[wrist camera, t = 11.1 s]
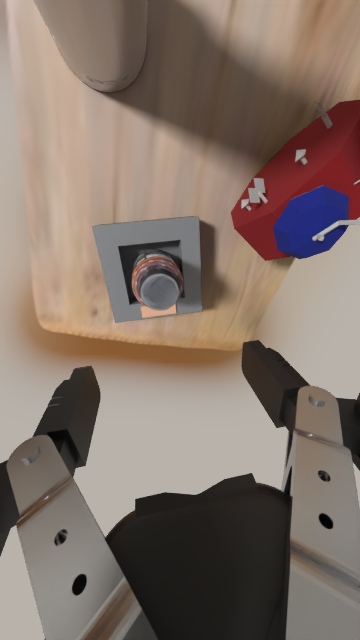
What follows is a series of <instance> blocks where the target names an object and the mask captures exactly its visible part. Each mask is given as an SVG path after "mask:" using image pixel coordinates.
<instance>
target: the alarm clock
mask: <svg viewBox="0 0 360 640" xmlns="http://www.w3.org/2000/svg"><path fill="white" fill-rule="evenodd" d="M315 103H316V102H315ZM316 106H317V109H318V111H319V112H320V113H321V115H322V116H321V117H319V118H318V119H317V120H315V121H314V122H313V123H311V124H310V125H309V126H307V127H306V128H305V129H303V130H302V131H301V132H299V133H298V134H297V135H295V136H294V137H293V138H291V139H290V140H289V141H288V142H287V143H286V144H285V145H284V146H283V147H282V149H281V150H280V151H279V152H278V153H277V154H276V155H275V156H274V157H273V158H272V159H271V160H270V161H269V162H268V163H267V164H266V165H265V166H264V167H263V169H262V170H261V171H260V172H259V173H258V174H257V175H256V176H255V177H254V178H253V179H252V180H251V182H250V183H249V185H248V186H247V188H246V190H245V191H244V193H243V194H242V196H241V197H240V199H239V201H238V202H237V204H236V205H235V207H234V209H233V210H232V212H231V215H232V219H233V224H234V228H235V229H236V231H237V232H238V233H239V234H240V235H241V236H242V237H243V238H244V239H245V240H246V241H247V242H248V243H249V244H250V245H251V246H252V247H253V248H254V249H255V250H256V251H257V253H258V254H259V255H260V256H261V257H262V258H263V259H264V260H265V261H266V260H272V259H278V258H284V257H290V256H293V257H296V258H298V259H302V258H307V257H310V256H313V255H316V254H319V253H322V252H325V251H328V250H329V249H330V248H331V247H332V246H333V245H334V244H335V243H336V241H337V240H338V239H339V238H340V237H341V236H342V235H343V234H344V232H345V231H346V229H347V227H348V225H356V224H357V225H360V220H356V219H357V218H359V217H360V100H354V101H345V102H339V103H338V104H336V105H335V106H334V107H332V108H331V109H330V110H329V111H327V112H325V111H324V110H323V108H322V107H321V106H320V104H319V106H320V108H319V106H318V105H317V103H316Z"/></svg>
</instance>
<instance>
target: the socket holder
mask: <svg viewBox="0 0 360 640" xmlns="http://www.w3.org/2000/svg"><path fill="white" fill-rule="evenodd" d="M92 228H93V232H94V236H95V241H96V245H97V249H98V253H99V257H100V261H101V265H102V270H103V274H104V278H105V282H106V286H107V290H108V294H109V298H110V303H111V307H112V311H113V315H114V319H115V323H119V322H126V321H133V320H141V319H148V318H155V317H162V316H170V315H177V314H184V313H191V312H199V311H202V292H201V262H200V232H199V217H196V216H190V217H179V218H168V219H157V220H146V221H135V222H124V223H113V224H102V225H95V226H92ZM148 249H159V250H162V251H164V252H165V253H167V254H168V255H169V256H170V257H171V259H172V260H173V261H174V263H175V264H176V266H177V267H178V269H179V270H180V272H181V274H182V277H183V282H184V285H183V291H182V294H181V296H180V298H179V299H178V300H177V301H176V303H175V304H174V305H173V306H172V307H170V308H169V309H166V310H161V311H158V310H153V309H151V308H149V307H146V306H144V305H143V304H142V303H140V302H139V301H138V300H137V298H136V297H135V295H134V293H133V289H132V274H133V267H134V262H135V260H136V258H137V257H138V256H139V255H140V254H141V253H142V252H144V251H146V250H148Z"/></svg>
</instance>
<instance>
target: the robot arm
mask: <svg viewBox="0 0 360 640" xmlns="http://www.w3.org/2000/svg"><path fill="white" fill-rule="evenodd" d="M34 2H35V4H36V6H37V8H38V10H39V12H40V14H41V16H42V18H43V20H44V22H45V24H46V26H47V28H48V30H49V32H50V34H51V36H52V38H53V40H54V41H55V43H56V45H57V47H58V49H59V51H60V53H61V55H62V57H63V58H64V60H65V62H66V64H67V65H68V66H69V68H70V69H71V70H72V72H73V73H74V74H75V75H76V76H77V77H78V78H79V79H80V80H81V81H82V82H84V83H85V84H87V85H88V86H90V87H91V88H94V89H96V90H99V91H102V92H116V91H120V90H122V89H124V88H126V87H128V86H129V85H130V84H131V83H132V82H133V81H134V80H135V79H136V77H137V75H138V74H139V72H140V70H141V68H142V65H143V63H144V59H145V54H146V46H147V17H148V0H34ZM242 371H243V374H244V376H245V378H246V380H247V381H248V383H249V384H250V386H251V388H252V389H253V391H254V392H255V394H256V396H257V397H258V399H259V400H260V402H261V404H262V405H263V407H264V408H265V410H266V412H267V413H268V415H269V417H270V418H271V420H272V421H273V423H274V424H275V426H276V428H279V427H284V426H286V428H287V429H288V431H289V432H288V438H287V448H286V457H285V467H284V475H283V482H282V487H281V490H279V489H277V488H275V487H272V486H269V485H266V484H262V483H256V481H255V479H254V477H253V475H252V473H250V474H246V475H242V476H237V477H233V478H228V479H224V480H223V481H221V482H219V483H217V484H216V485H214V486H212V487H210V488H209V489H207V490H205V491H204V492H202V493H200V494H198V495H190V494H178V493H166V492H165V493H161V494H157V495H152V496H147V497H143V498H138V499H135V510H134V511H133V512H131V513H129V514H128V515H127V516H125V517H124V518H123V519H122V520H121V521H119V522H118V523H117V524H116V525H115V527H114V528H113V529H112V530H111V531H110V532H109V534H108V535H107V536H106V538H105V536H104V534H103V532H102V531H101V529H100V527H99V525H98V523H97V522H96V520H95V518H94V516H93V514H92V512H91V510H90V509H89V507H88V505H87V503H86V501H85V499H84V497H83V496H82V494H81V492H80V490H79V488H78V486H77V484H76V483H75V481H74V479H73V476H74V472H75V469H76V468H78V467H82V466H85V465H86V461H87V457H88V452H89V448H90V443H91V439H92V434H93V430H94V425H95V421H96V416H97V412H98V408H99V403H100V388H99V385H98V382H97V380H96V376H95V373H94V370H93V368H92V366H86V367H80V368H75V369H74V370H73V373H72V375H71V377H70V379H69V380H64V381H63V382H62V383H61V384H60V385H59V386H58V387H57V389H56V390H55V392H54V394H53V396H52V400H50V402H49V404H48V407H47V409H46V411H45V412H44V415H43V417H42V419H41V421H40V423H39V425H38V427H37V429H36V431H35V433H34V435H33V437H32V438H30V439H28V440H26V441H24V442H23V443H22V444H21V445H19V446H18V447H17V448H16V449H15V450H14V451H13V453H12V454H11V456H10V457H9V459H8V460H7V461H5V462H3V463H0V556H1V553H2V550H3V547H4V545H5V542H6V539H7V537H8V534H9V531H10V529H11V528H12V527H13V526H15V525H17V530H18V535H19V539H20V542H21V546H22V550H23V554H24V558H25V562H26V566H27V570H28V574H29V577H30V581H31V585H32V589H33V592H34V597H35V600H36V604H37V608H38V612H39V616H40V619H41V623H42V627H43V631H44V635H45V640H360V508H359V502H358V495H357V489H356V482H355V476H354V468H353V463H354V464H355V465H356V466H357V468H358V469H359V470H360V393H359V396H358V398H357V400H355V399H343V398H335V397H334V396H333V395H332V394H331V393H330V392H328V391H326V390H324V389H322V388H319V387H315V386H310V385H309V384H308V383H307V382H306V381H305V380H304V378H303V377H301V375H300V374H299V373H298V372H297V371H296V370H295V369H294V368H293V367H292V366H290V364H289V363H288V362H287V361H285V359H284V358H283V357H282V356H281V355H280V354H279V353H278V352H276V351H274V350H273V349H271V348H265V346H264V345H263V344H262V343H261V342H260V341H259V340H256V341H249V342H244V343H243V352H242ZM352 461H353V462H352Z"/></svg>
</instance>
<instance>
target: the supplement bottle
mask: <svg viewBox="0 0 360 640" xmlns="http://www.w3.org/2000/svg"><path fill="white" fill-rule="evenodd" d="M183 285H184V282H183V277H182V274H181V272H180V270H179V269H178V267H177V266H176V264H175V263H174V261H173V260H172V259H171V257H170V256H169V255H168V254H167V253H165V252H164V251H162V250H159V249H148V250H146V251H144V252H142V253H141V254H140V255H139V256H138V257H137V258H136V260H135V262H134V267H133V274H132V289H133V293H134V295H135V297H136V298H137V300H138V301H139V302H140V303H142V304H143V305H144V306H146V307H149V308H151V309H153V310H158V311H161V310H166V309H169V308H170V307H172V306H173V305H174V304H175V303H176V301H177V300H178V299H179V298H180V296H181V294H182V291H183Z"/></svg>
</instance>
